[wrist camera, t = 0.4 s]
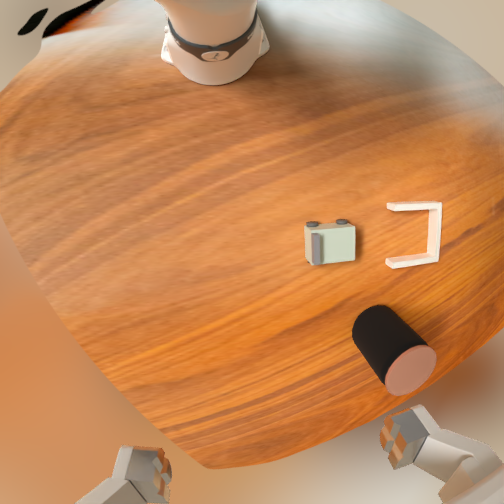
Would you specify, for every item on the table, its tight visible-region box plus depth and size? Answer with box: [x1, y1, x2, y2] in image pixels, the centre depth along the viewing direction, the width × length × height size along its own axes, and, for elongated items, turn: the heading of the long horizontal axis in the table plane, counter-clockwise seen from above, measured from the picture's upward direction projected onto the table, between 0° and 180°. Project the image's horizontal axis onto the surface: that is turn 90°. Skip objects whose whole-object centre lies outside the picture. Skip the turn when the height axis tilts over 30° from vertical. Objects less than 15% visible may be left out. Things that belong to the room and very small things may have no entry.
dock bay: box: [385, 201, 442, 269], centre depth 53 cm, size 12×12×3 cm
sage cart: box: [304, 219, 355, 265], centre depth 51 cm, size 7×8×6 cm
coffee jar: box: [352, 305, 437, 396], centre depth 51 cm, size 11×11×18 cm
